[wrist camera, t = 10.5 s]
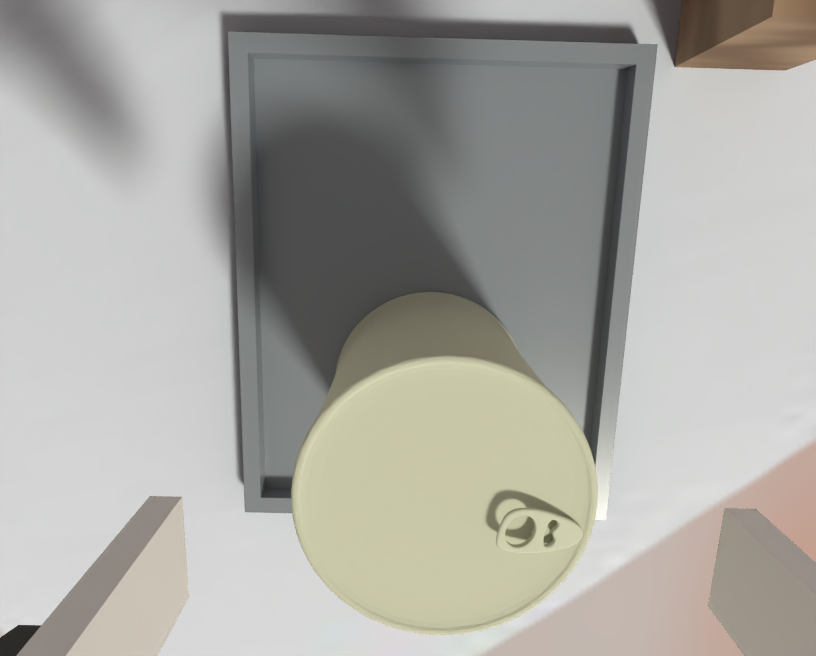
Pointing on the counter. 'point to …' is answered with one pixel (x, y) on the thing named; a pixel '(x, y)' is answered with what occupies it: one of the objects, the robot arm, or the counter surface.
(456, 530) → the can
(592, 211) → the tray
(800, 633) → the robot arm
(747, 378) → the counter surface
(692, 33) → the walnut block
